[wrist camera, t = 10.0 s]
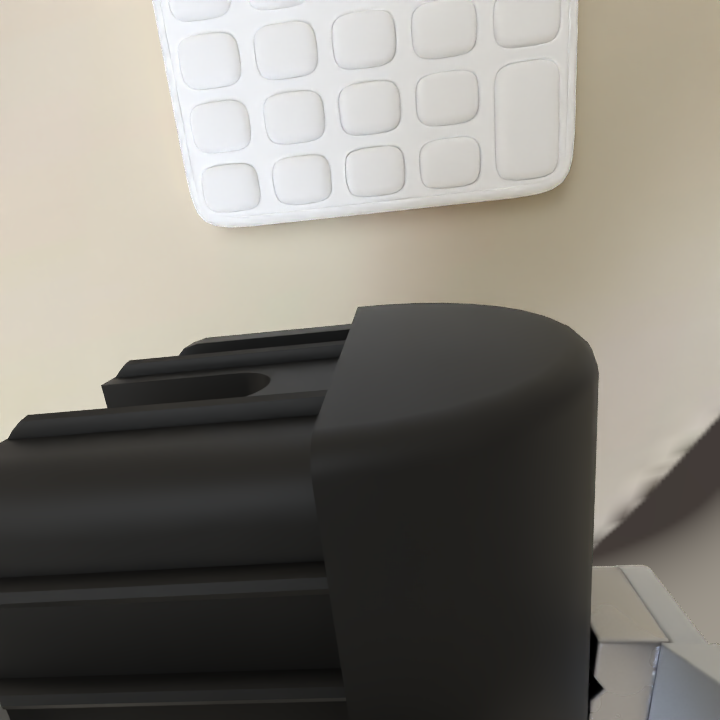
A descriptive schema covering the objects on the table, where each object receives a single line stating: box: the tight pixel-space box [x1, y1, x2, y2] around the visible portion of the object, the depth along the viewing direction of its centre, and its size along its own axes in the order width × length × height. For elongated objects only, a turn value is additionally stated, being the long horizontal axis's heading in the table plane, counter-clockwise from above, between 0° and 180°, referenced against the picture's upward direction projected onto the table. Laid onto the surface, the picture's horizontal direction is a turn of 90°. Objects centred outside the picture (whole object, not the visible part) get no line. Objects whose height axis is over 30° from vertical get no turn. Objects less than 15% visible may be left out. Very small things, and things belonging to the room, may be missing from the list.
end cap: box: [0, 303, 599, 720], centre depth 8 cm, size 10×7×7 cm
